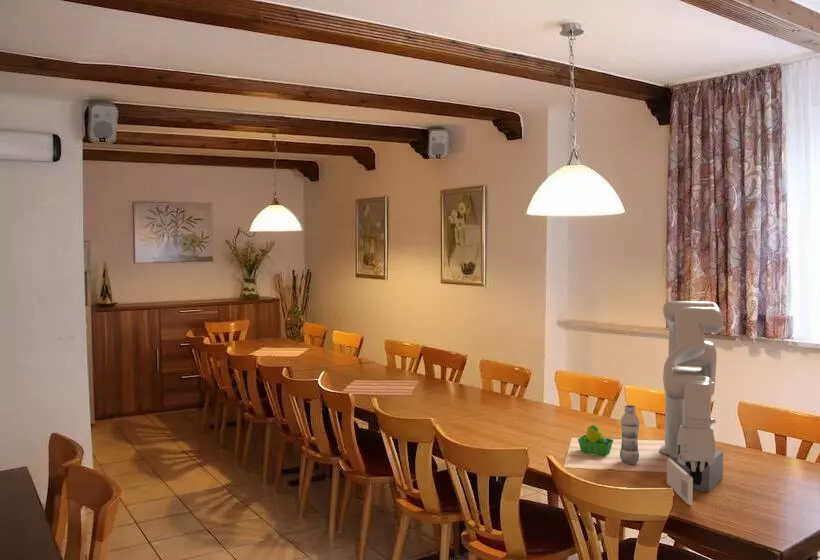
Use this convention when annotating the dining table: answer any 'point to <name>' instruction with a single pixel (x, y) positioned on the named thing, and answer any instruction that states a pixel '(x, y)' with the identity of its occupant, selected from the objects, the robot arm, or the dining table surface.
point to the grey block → (706, 472)
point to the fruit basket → (595, 442)
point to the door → (680, 481)
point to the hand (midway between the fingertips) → (695, 483)
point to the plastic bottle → (629, 436)
